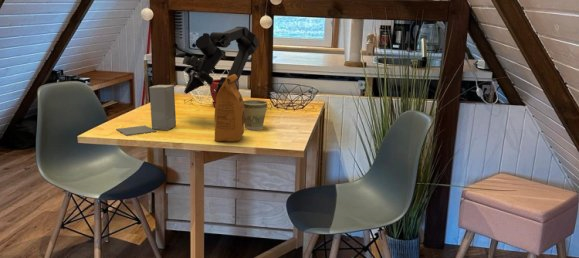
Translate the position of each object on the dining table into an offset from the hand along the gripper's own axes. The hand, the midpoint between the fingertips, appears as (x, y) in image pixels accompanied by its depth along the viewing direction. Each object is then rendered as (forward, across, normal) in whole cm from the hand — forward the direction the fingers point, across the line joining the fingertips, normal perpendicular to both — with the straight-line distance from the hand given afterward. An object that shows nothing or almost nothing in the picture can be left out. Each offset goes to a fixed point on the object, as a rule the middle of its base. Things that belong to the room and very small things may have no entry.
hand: (185, 93), depth 199 cm
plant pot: (-8, -27, +28) cm, 40 cm away
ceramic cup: (-5, +16, +25) cm, 30 cm away
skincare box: (+16, +4, 0) cm, 16 cm away
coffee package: (+5, +28, +13) cm, 32 cm away
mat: (+22, +6, -8) cm, 24 cm away
